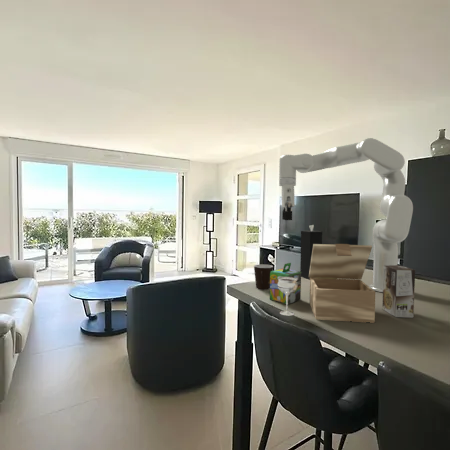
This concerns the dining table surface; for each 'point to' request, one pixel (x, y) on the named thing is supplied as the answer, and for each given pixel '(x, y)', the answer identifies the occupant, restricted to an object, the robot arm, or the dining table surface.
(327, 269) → the lid
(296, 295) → the chalk box
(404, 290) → the coffee box
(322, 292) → the box
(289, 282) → the wineglass
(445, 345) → the dining table surface
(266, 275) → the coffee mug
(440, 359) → the dining table surface
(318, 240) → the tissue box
